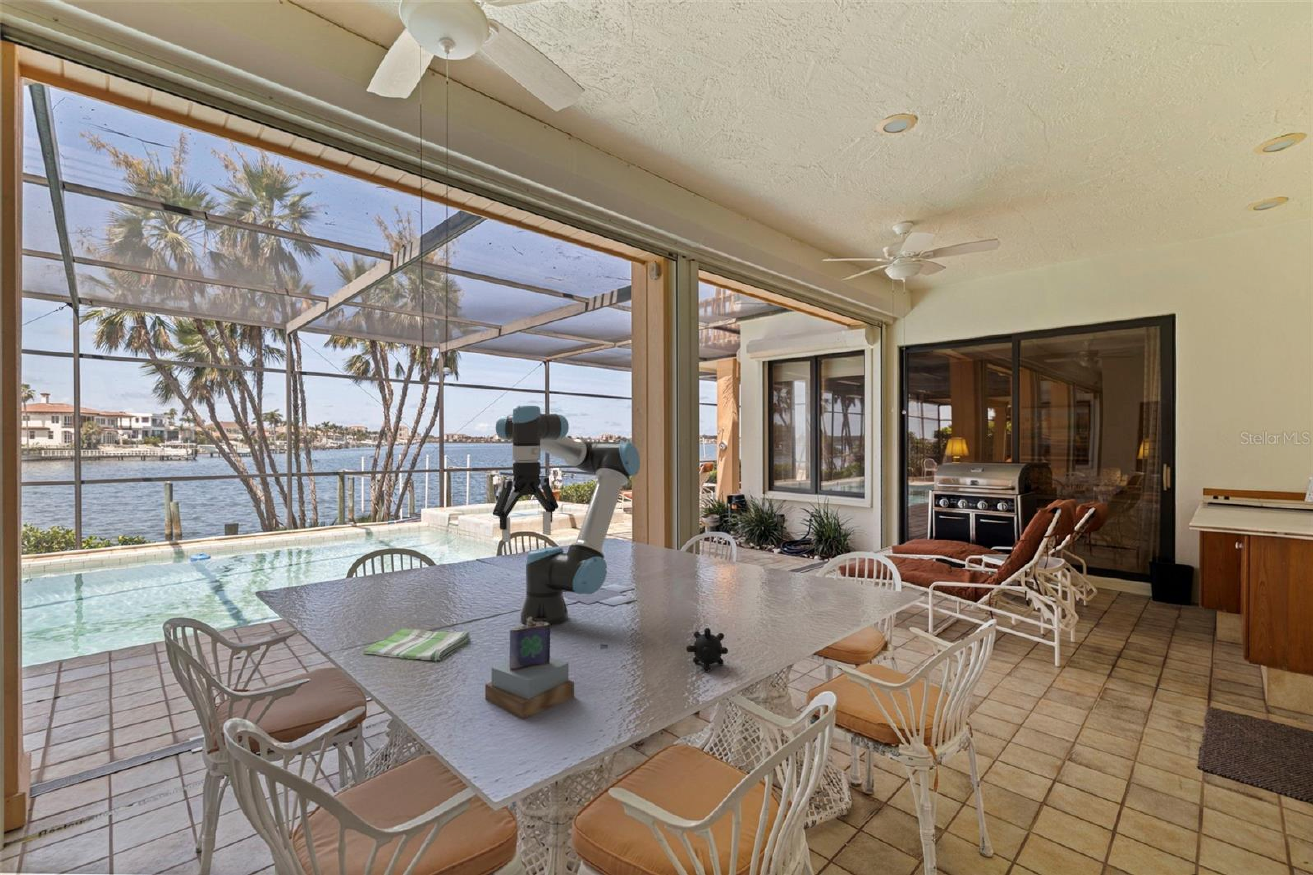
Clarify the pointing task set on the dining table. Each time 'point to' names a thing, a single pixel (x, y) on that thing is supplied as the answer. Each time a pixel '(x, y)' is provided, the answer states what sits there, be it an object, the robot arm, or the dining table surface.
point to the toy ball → (707, 648)
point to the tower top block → (530, 678)
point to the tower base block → (533, 705)
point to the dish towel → (421, 644)
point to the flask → (529, 645)
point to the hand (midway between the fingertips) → (527, 538)
